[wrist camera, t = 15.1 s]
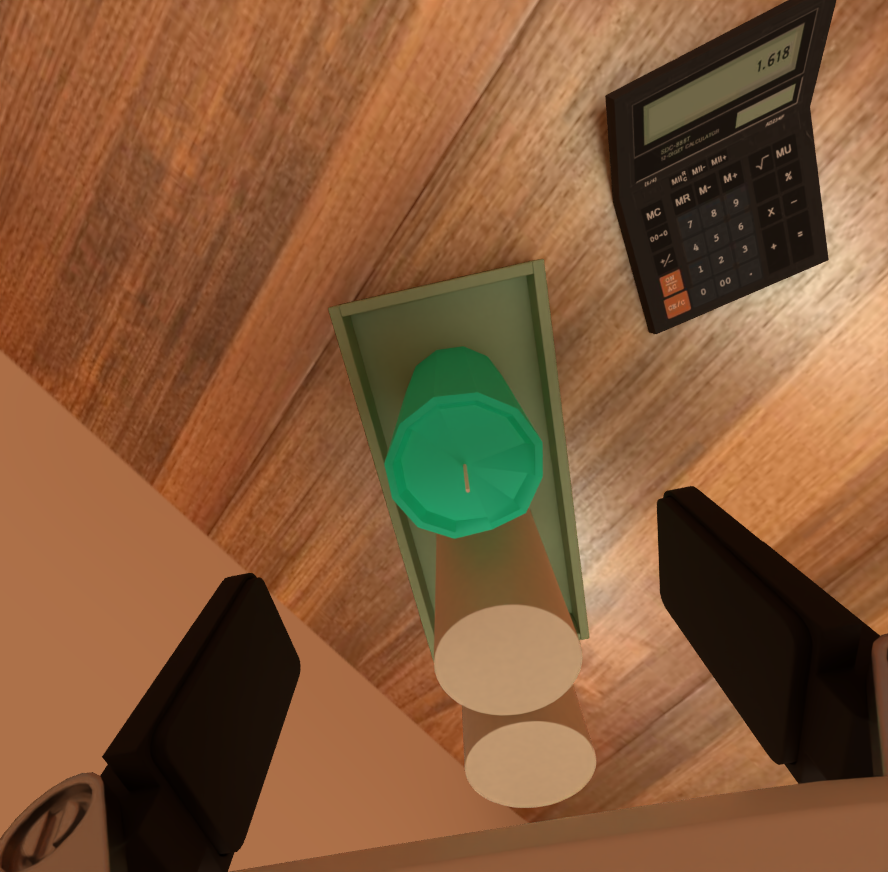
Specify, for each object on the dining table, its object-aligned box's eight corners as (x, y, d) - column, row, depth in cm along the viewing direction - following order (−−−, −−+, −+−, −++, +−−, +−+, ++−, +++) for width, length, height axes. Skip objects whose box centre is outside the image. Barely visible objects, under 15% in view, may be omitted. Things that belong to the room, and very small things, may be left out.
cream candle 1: (447, 554, 30) (450, 725, 18) (428, 479, 27) (418, 619, 16) (532, 539, 29) (589, 704, 18) (519, 461, 27) (574, 592, 16)
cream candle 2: (465, 625, 32) (477, 815, 21) (448, 560, 30) (452, 733, 18) (544, 611, 31) (601, 798, 20) (533, 545, 29) (590, 712, 18)
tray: (434, 636, 33) (434, 664, 30) (338, 304, 24) (327, 308, 22) (578, 612, 32) (589, 638, 30) (533, 260, 23) (543, 258, 21)
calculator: (649, 332, 25) (675, 339, 22) (588, 113, 21) (611, 88, 18) (815, 260, 23) (866, 258, 21) (782, 13, 20) (839, -31, 17)
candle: (401, 436, 26) (372, 555, 15) (411, 339, 24) (386, 394, 13) (496, 447, 27) (536, 572, 15) (514, 352, 25) (575, 417, 13)
